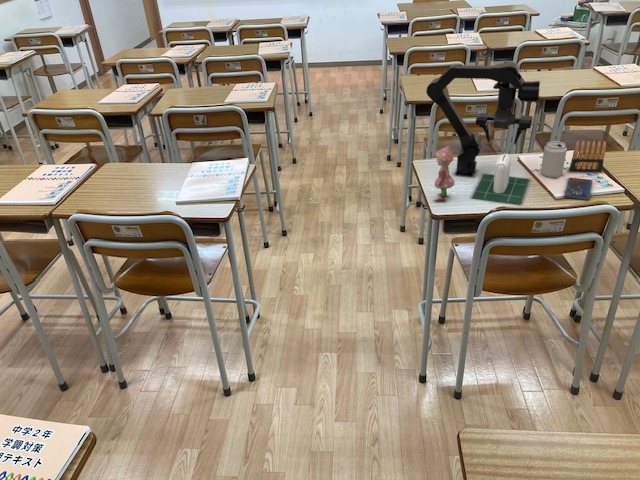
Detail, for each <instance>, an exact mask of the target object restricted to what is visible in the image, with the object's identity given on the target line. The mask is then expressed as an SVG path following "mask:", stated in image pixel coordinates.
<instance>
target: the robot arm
mask: <svg viewBox="0 0 640 480" xmlns="http://www.w3.org/2000/svg"><path fill="white" fill-rule="evenodd" d="M455 79H473V80H474V79H476V80H477V79H478V80H492V81H495V83H494V84H493V86H492V88H493V89H494V90H498V92H497V93H498V95H497V102H496V111H495V113H494V116H491V113H489V112H479V113H478V115H477V116H476V118H475V125H476V126H479V128H481V129H483V131H484V134H485V137H486V141H487V143H490V141H491V123H493V129H503V130H505V129H508V127H509V126H514V125H518V126H517V128H516V134H515V138H514V141H513V144H514V145H516V144H517V142H518V140H519V138H520V136H521V135H522V133H523V132H524V131H527V129H529V130H530V129H531V128H532V126H533V124H534V117H533V115H523V114H522V115H521V116H520V118H519V117H516V114H515V113H514V112H515V104H516V97H517V99H518V101H520V102H522V103H523V102H524V103H538V102H539V97H540V90H541V89H540V85H541V81H540V80H534V81H533V80H531V81H527V80H525V79H524V77H523V76H522V75H521V73H520V67H519V64H517V62H514V61H508V62H500V63H498V64H494V65H458V64H452V65H450V67H449V68H448V70H446V71H445V72H443V74H442V75H440V76H439V77H436V78H433V79H432V80H431V81H430V82H429V84H428V85H427V87H426V89H425V90H426V91H425V92H426V95H427V97H428V98H429V99H430V100H431V101H432V102H433V103H434V104H436V105H437V106H438V107H440V109H441V111H442V113H443V114H444V115H445V117H446V119H447V120H448V123H449V124H450V125H451V127H452V129H453V130H454V132H455V133H456V135H457V137H458V139H459V142H460V143H459V144H460V146H461V148H460V150H459V152H458V154H457V157H456V158H457V159H456V172H455V176H462V177H473V176H474V174H475V173H476V172H477V165H478V162H477V160H476V158H477V156H478V155H479V154H480V151H481V149H482V146H483V143H482V140H483V139H482V138H481V137H480V135H479V133H478V131H475V132H473V131H471V130H470V129H469V127H468V126H467V124H466V122H465V121H464V119H463V117H462V115H461V114H460V113H459V111H458V109H457V108H456V106H455V104H454V103H453V101H452V100H451V97H450V94H449V93H450V92H449V88H448V85H450V83H452V82H453V81H454V80H455ZM524 80H525V81H524Z"/></svg>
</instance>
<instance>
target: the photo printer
mask: <svg viewBox="0 0 640 480" xmlns="http://www.w3.org/2000/svg"><path fill="white" fill-rule="evenodd" d="M511 166H512V156H511V154H510V153H502V154H500V156H499V157H498V159H497V160H496V163H495V171H494V175H495V178H494V187H493V191H494V192H495V193H498V194H501V193H504V192H505V190H506V188H507V185H508V182H509V177H510V175H511V168H512V167H511Z"/></svg>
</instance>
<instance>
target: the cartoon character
mask: <svg viewBox="0 0 640 480" xmlns="http://www.w3.org/2000/svg"><path fill="white" fill-rule="evenodd" d="M434 156H435V157H436V162H437V165H438V166H441V167H440V168H439V170H438V172H437V173H438V176H437V178H436V179H435V181H434V187H435V188H436V189H439V190H440V192H439V195H440V197H439V198H436V201H437V202H444V201H445V200H446V197H447V196H448V193H447V191H448V189H451V188H453V187H454V186H455V179H453V177H452V175H450V169H449V166H450V164H451V163H452V162H453V161H454V154H453V150H452V149H451V147H450V146H449V145H446V146H445V147H443V148H441V149H439V150H436V152H435V153H434Z"/></svg>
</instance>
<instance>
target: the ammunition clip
mask: <svg viewBox="0 0 640 480" xmlns="http://www.w3.org/2000/svg"><path fill="white" fill-rule="evenodd" d="M585 143H586V145H585ZM601 144H602V145H601ZM606 148H607V141H606V140H604V141H603V143H602V142H601V140H598V142H597V144H596V140H593V142H592V144H591V141H590V140H588V141H587V142H585V140H582V142H581V144H580V141H579V140H577V141H576V143H575V146H574V150H573V152H572V157H571V161H570V164H569V169H568V170H569V172H570V173H602V172H603V166H604V161H605V155H606Z"/></svg>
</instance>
